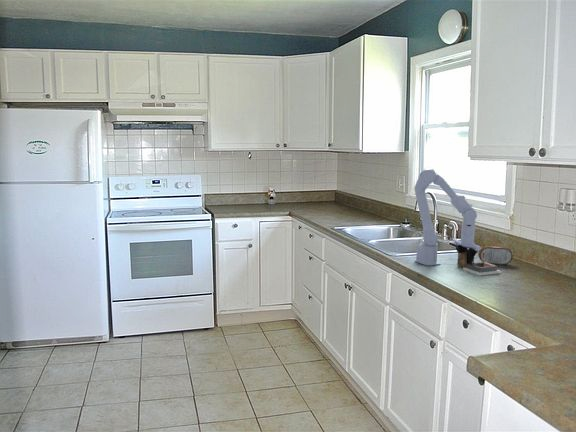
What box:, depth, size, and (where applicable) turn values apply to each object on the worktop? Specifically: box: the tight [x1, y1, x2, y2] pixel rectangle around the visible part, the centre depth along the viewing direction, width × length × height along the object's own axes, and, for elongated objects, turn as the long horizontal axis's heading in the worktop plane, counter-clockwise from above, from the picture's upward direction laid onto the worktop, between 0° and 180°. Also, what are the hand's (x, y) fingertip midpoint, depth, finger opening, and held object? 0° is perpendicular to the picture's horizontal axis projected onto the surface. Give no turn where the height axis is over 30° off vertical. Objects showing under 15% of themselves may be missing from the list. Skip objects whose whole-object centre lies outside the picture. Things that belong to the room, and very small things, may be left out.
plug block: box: [456, 252, 475, 269], centre depth 246 cm, size 4×6×6 cm, turn 115°
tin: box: [477, 245, 514, 266], centre depth 252 cm, size 15×3×8 cm, turn 80°
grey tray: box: [462, 261, 501, 276], centre depth 238 cm, size 10×12×3 cm
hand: (465, 263), depth 247 cm, fingers closed on plug block, 4 cm apart
